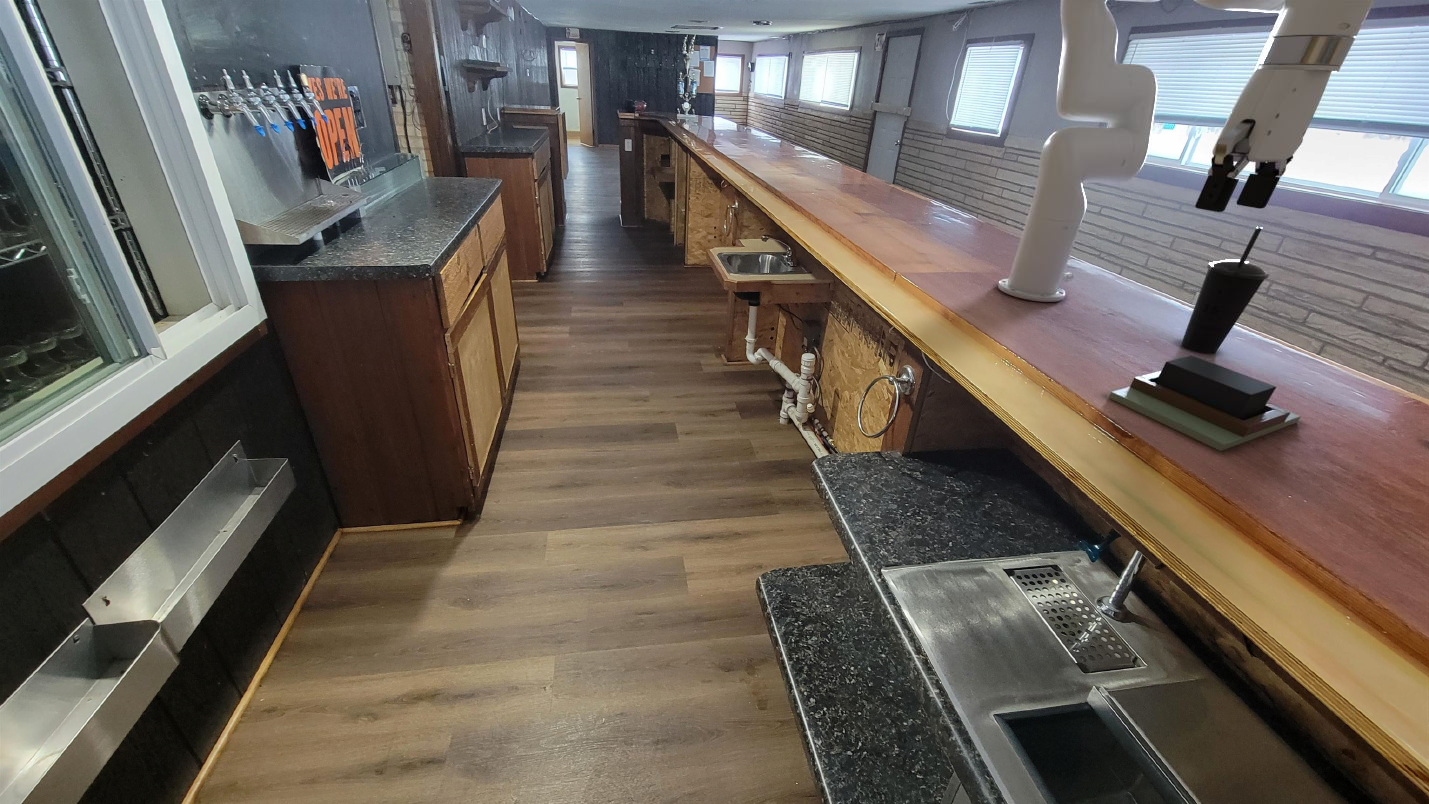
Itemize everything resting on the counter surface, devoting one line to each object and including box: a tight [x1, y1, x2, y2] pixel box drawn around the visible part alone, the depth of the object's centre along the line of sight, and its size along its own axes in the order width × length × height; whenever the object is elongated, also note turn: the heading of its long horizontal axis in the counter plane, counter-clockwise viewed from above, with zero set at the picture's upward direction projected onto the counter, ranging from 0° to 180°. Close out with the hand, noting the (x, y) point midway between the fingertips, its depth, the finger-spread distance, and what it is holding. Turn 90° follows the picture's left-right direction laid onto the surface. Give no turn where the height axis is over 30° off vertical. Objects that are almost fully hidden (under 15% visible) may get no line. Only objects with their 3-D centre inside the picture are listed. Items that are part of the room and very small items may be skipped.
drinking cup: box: [1180, 227, 1270, 355], centre depth 91 cm, size 8×8×20 cm
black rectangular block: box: [1156, 354, 1277, 420], centre depth 75 cm, size 10×6×4 cm, turn 25°
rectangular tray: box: [1108, 370, 1302, 452], centre depth 76 cm, size 18×14×2 cm
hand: (1229, 208), depth 75 cm, fingers open, 9 cm apart
